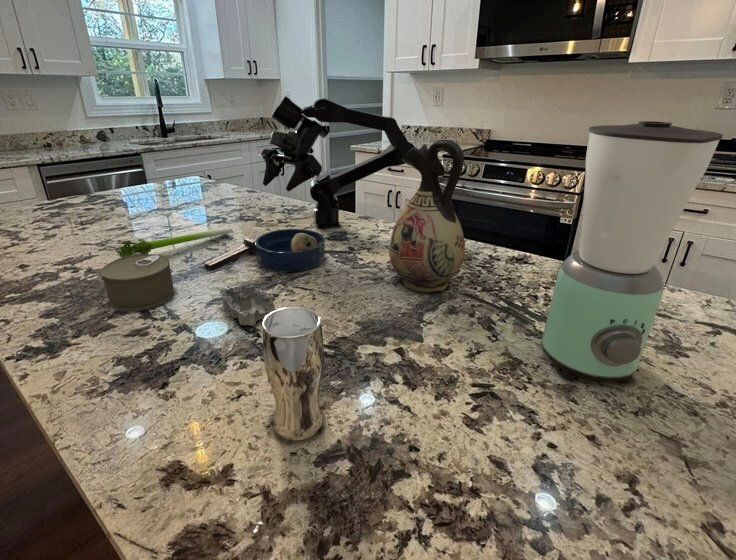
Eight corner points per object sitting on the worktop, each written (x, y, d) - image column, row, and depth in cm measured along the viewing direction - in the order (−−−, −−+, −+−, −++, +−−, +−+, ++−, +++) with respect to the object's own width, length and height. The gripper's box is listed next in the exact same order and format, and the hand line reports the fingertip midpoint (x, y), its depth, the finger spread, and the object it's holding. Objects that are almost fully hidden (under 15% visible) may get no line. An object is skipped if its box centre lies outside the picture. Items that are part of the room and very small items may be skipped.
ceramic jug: (372, 284, 88) (376, 137, 76) (414, 263, 99) (424, 130, 86) (441, 312, 78) (459, 146, 65) (480, 285, 88) (502, 138, 76)
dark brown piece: (246, 237, 104) (201, 258, 95) (255, 241, 102) (210, 261, 93) (249, 250, 106) (205, 270, 97) (257, 253, 104) (213, 274, 95)
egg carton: (279, 317, 76) (278, 298, 74) (240, 330, 72) (237, 310, 70) (256, 295, 84) (254, 276, 82) (219, 305, 80) (216, 286, 78)
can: (94, 306, 80) (85, 273, 77) (143, 280, 90) (136, 250, 87) (143, 317, 76) (135, 283, 73) (188, 289, 86) (182, 258, 83)
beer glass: (273, 404, 56) (263, 306, 49) (325, 401, 56) (322, 304, 50) (267, 445, 49) (256, 339, 43) (326, 442, 50) (323, 336, 44)
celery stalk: (237, 243, 115) (122, 268, 94) (223, 240, 119) (111, 264, 98) (234, 221, 113) (117, 241, 92) (220, 219, 118) (105, 238, 96)
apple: (277, 242, 98) (287, 232, 93) (305, 235, 102) (316, 226, 98) (286, 265, 97) (297, 257, 92) (314, 258, 102) (325, 249, 97)
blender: (662, 401, 56) (773, 130, 42) (561, 396, 57) (635, 129, 43) (597, 326, 74) (659, 116, 59) (520, 323, 74) (562, 115, 60)
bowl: (318, 244, 110) (317, 226, 108) (331, 269, 95) (330, 249, 93) (255, 250, 106) (253, 231, 104) (259, 276, 92) (257, 255, 90)
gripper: (263, 117, 112) (233, 164, 109) (312, 121, 101) (281, 174, 98) (287, 144, 121) (260, 188, 118) (334, 151, 110) (306, 200, 107)
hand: (275, 187), depth 110 cm, fingers open, 9 cm apart
